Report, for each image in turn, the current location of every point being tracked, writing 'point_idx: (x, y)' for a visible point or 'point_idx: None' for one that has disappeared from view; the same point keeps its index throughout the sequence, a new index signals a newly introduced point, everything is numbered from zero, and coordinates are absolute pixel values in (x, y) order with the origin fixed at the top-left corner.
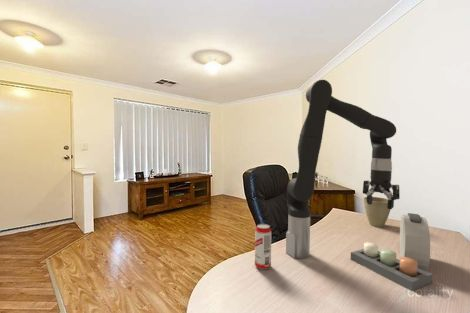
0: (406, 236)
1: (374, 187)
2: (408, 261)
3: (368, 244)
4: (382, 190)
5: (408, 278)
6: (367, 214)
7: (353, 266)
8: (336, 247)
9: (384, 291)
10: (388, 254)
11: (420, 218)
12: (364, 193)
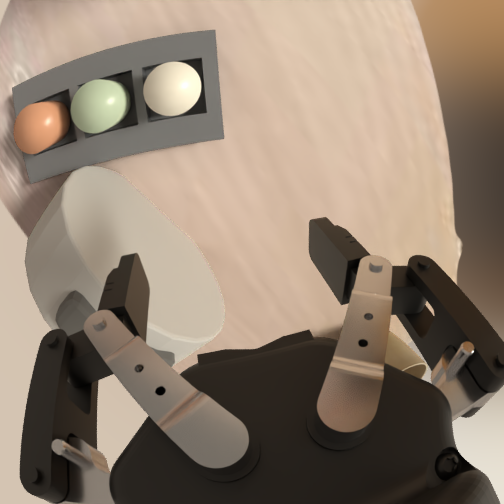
0: (60, 203)
1: (332, 373)
2: (26, 121)
3: (177, 80)
4: (176, 385)
5: (24, 91)
6: (390, 333)
7: (169, 10)
8: (308, 65)
9: (44, 16)
10: (79, 89)
11: None
12: (409, 259)
